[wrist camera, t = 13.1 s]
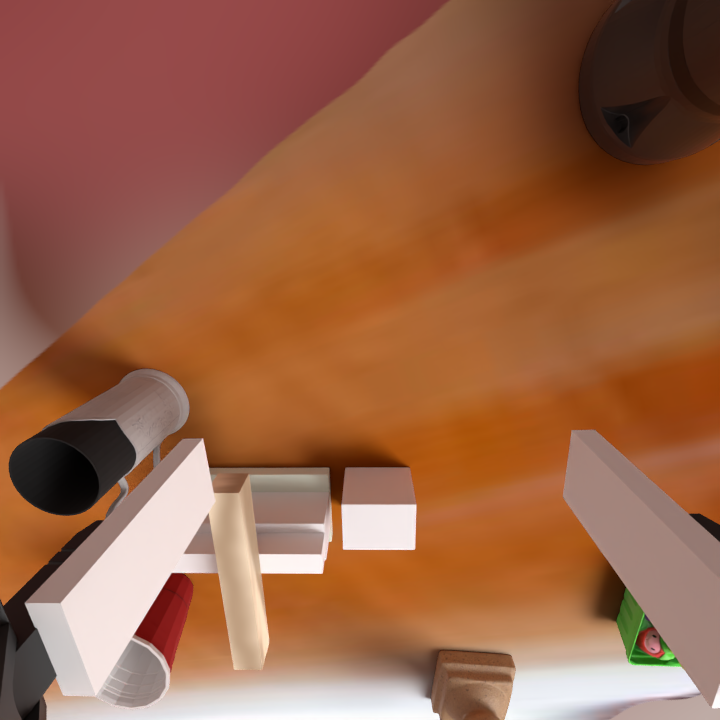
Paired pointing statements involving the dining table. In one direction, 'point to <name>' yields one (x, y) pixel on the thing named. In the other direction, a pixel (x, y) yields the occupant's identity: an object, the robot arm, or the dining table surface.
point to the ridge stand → (276, 522)
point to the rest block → (378, 509)
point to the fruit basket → (642, 636)
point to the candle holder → (472, 685)
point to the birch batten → (239, 569)
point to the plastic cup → (150, 650)
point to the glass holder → (99, 444)
